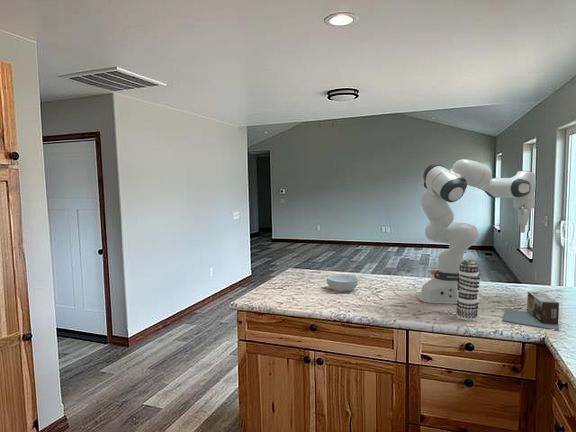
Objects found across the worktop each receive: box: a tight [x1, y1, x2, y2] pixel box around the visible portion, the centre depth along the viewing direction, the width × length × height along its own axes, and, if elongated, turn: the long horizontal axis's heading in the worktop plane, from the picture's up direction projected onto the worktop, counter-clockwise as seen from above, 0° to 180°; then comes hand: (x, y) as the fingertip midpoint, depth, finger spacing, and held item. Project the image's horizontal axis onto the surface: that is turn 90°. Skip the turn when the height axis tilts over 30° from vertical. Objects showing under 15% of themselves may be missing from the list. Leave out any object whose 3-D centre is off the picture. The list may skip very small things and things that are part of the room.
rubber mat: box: [501, 308, 560, 331], centre depth 170 cm, size 18×20×1 cm
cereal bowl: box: [326, 273, 359, 293], centre depth 216 cm, size 17×17×7 cm
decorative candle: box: [455, 259, 481, 321], centre depth 172 cm, size 9×9×25 cm
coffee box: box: [526, 291, 560, 324], centre depth 171 cm, size 9×6×16 cm
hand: (522, 232), depth 195 cm, fingers closed
